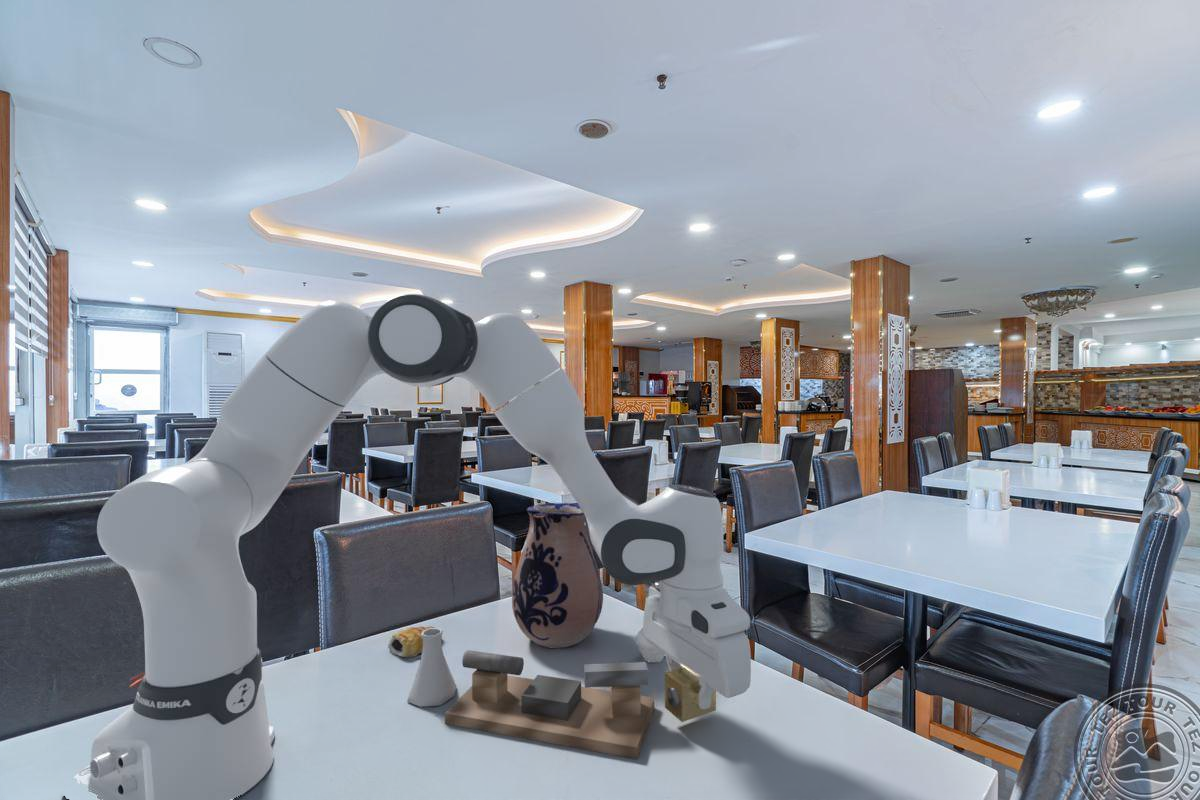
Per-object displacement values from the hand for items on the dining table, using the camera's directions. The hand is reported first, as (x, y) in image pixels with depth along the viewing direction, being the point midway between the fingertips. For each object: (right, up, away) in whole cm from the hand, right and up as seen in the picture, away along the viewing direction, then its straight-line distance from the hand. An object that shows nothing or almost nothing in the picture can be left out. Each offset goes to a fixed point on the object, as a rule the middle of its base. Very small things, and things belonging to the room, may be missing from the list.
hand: (690, 696), depth 78 cm
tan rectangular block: (0, -2, 0) cm, 2 cm away
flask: (-39, -4, +7) cm, 40 cm away
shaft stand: (-20, -4, +2) cm, 20 cm away
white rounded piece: (-3, -4, +19) cm, 20 cm away
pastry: (-47, -4, +24) cm, 53 cm away
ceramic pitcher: (-20, -4, +29) cm, 36 cm away
